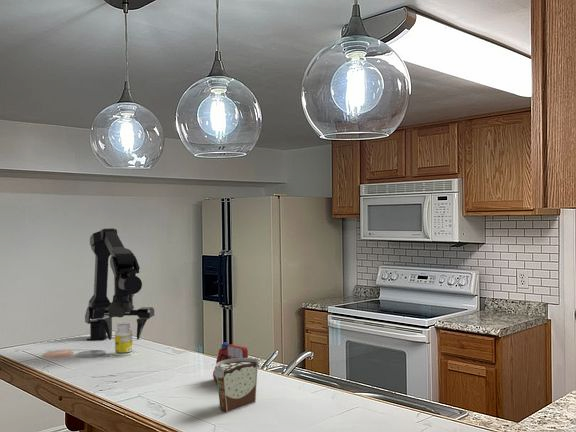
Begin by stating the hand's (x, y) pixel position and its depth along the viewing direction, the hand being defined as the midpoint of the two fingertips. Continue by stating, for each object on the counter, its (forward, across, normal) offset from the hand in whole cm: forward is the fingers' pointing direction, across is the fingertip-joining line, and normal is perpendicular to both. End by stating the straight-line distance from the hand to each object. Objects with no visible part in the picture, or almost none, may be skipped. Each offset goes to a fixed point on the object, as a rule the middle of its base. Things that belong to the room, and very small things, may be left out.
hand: (124, 339), depth 193 cm
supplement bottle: (+5, 0, 0) cm, 5 cm away
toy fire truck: (+5, +41, -34) cm, 54 cm away
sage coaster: (+6, 0, 0) cm, 6 cm away
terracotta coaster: (+5, -22, 0) cm, 23 cm away
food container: (+5, +44, -53) cm, 69 cm away
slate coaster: (+5, -11, 0) cm, 12 cm away
